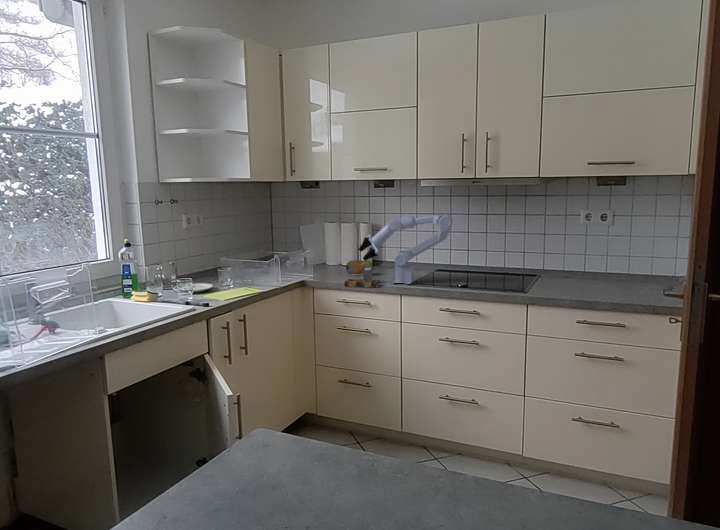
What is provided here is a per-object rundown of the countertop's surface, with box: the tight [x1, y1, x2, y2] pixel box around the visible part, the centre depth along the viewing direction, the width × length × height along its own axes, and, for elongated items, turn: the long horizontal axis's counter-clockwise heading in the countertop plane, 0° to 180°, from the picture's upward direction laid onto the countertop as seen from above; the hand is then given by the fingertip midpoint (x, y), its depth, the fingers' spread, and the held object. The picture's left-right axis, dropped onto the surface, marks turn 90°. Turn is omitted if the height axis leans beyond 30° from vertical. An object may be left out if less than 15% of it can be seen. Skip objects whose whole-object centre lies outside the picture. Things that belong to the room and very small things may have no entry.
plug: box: [362, 268, 373, 280], centre depth 263 cm, size 4×4×8 cm
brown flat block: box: [344, 278, 380, 289], centre depth 257 cm, size 16×7×3 cm, turn 73°
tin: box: [345, 259, 374, 275], centre depth 284 cm, size 15×3×8 cm, turn 76°
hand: (361, 254), depth 263 cm, fingers open, 7 cm apart
